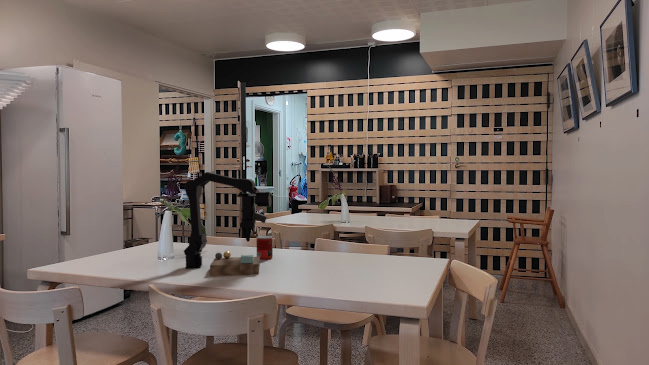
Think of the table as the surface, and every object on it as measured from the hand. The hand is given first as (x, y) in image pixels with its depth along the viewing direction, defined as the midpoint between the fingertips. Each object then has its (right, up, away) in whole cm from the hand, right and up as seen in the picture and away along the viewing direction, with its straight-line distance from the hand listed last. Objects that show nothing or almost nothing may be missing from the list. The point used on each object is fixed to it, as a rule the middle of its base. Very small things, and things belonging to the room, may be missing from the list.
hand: (248, 241), depth 209 cm
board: (-4, -12, -6) cm, 14 cm away
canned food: (+4, -12, +24) cm, 27 cm away
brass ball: (-10, -6, -1) cm, 11 cm away
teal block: (+1, -7, -11) cm, 13 cm away
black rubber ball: (-13, -6, -2) cm, 14 cm away
